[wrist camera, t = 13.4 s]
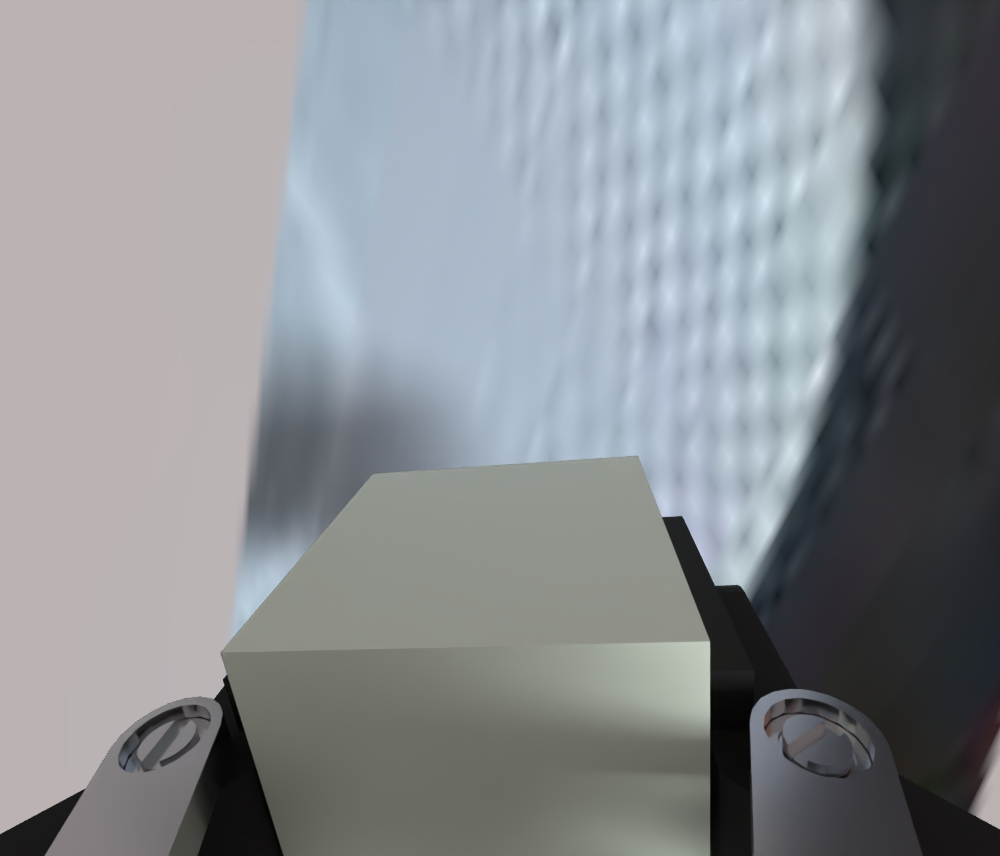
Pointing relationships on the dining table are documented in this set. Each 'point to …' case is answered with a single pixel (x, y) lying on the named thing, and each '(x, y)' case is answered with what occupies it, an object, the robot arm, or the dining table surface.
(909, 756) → the dining table surface
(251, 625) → the sage block
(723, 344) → the dining table surface
